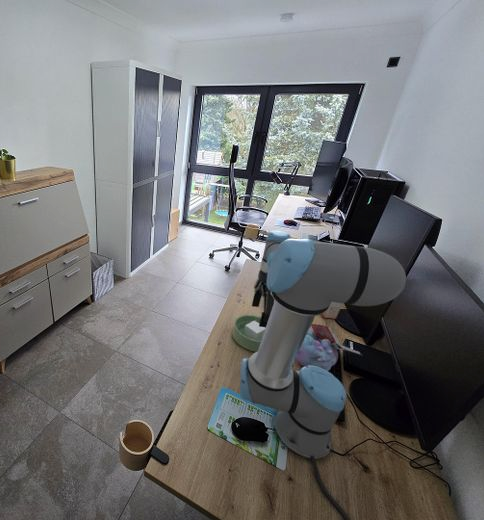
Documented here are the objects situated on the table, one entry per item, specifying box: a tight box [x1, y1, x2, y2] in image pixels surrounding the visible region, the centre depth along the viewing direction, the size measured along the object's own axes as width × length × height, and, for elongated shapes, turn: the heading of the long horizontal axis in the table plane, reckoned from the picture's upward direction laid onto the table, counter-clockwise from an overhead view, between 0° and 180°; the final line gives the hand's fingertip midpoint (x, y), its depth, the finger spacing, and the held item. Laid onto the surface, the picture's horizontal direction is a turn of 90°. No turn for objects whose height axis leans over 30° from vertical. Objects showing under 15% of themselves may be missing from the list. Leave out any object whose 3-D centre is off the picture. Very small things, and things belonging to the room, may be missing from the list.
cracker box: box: [321, 302, 344, 320], centre depth 139 cm, size 14×6×21 cm, turn 168°
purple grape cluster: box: [295, 323, 362, 372], centre depth 112 cm, size 20×22×18 cm
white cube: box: [243, 321, 266, 341], centre depth 123 cm, size 6×6×6 cm
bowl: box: [231, 314, 266, 353], centre depth 123 cm, size 17×17×6 cm
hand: (258, 315), depth 119 cm, fingers open, 13 cm apart
